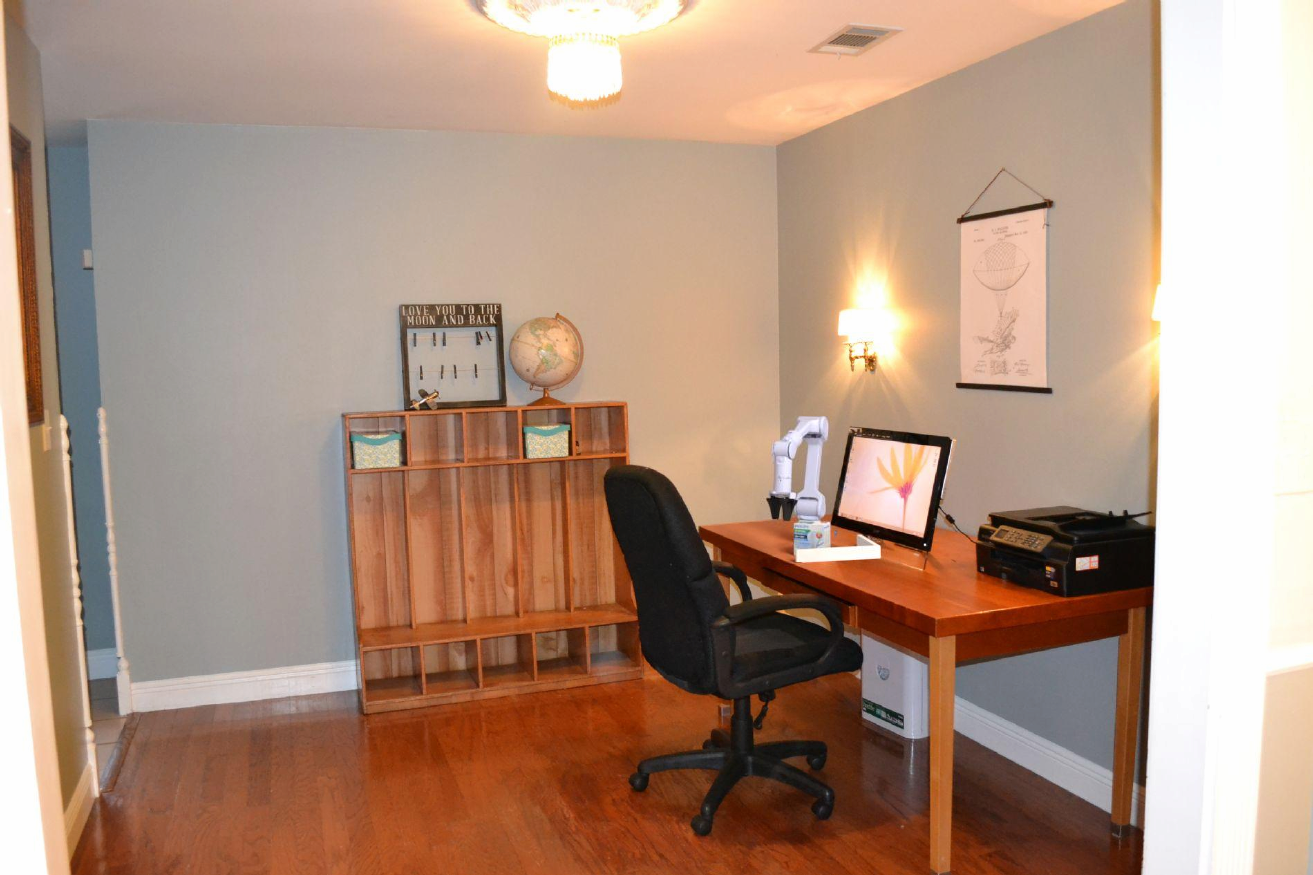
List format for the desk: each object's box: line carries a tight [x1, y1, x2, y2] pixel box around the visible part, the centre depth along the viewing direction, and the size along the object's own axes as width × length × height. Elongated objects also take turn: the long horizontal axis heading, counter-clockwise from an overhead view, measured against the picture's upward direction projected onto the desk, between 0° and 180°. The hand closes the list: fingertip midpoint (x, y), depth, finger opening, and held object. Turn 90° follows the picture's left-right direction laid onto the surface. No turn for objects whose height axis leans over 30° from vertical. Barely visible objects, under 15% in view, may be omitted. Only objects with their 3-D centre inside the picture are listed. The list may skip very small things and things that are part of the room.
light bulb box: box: [793, 520, 831, 556], centre depth 330 cm, size 11×7×11 cm, turn 62°
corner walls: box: [794, 534, 882, 563], centre depth 331 cm, size 20×28×4 cm
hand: (780, 520), depth 326 cm, fingers open, 7 cm apart
